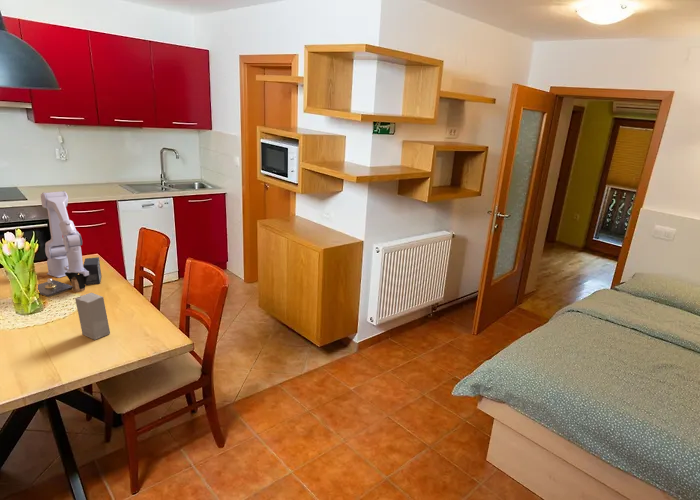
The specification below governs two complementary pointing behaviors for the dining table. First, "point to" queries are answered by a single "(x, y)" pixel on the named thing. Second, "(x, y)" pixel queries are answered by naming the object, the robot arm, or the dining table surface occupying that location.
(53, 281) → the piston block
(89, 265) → the small box
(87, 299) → the skincare box
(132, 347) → the dining table surface
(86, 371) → the dining table surface
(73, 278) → the brown hollow prism
